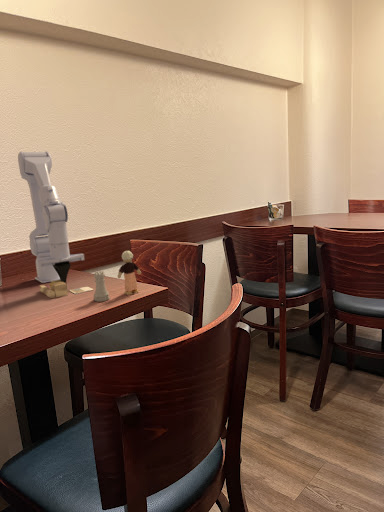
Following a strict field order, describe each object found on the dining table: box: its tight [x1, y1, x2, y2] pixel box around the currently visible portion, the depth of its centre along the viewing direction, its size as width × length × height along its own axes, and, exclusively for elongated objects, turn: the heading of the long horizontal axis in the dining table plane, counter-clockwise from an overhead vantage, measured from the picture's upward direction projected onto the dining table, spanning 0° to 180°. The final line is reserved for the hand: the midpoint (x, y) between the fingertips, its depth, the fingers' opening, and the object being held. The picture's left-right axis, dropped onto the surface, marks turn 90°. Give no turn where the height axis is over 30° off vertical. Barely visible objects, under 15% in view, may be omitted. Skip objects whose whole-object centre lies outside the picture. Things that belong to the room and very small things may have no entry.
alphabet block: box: [49, 280, 61, 290], centre depth 126 cm, size 3×3×3 cm
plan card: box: [69, 286, 94, 295], centre depth 125 cm, size 5×6×1 cm
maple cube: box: [50, 282, 69, 298], centre depth 121 cm, size 4×4×4 cm
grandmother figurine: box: [117, 250, 142, 296], centre depth 118 cm, size 8×4×13 cm, turn 142°
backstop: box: [39, 284, 56, 299], centre depth 123 cm, size 12×1×2 cm, turn 36°
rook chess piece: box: [93, 270, 111, 303], centre depth 113 cm, size 4×4×8 cm
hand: (64, 285), depth 128 cm, fingers closed
